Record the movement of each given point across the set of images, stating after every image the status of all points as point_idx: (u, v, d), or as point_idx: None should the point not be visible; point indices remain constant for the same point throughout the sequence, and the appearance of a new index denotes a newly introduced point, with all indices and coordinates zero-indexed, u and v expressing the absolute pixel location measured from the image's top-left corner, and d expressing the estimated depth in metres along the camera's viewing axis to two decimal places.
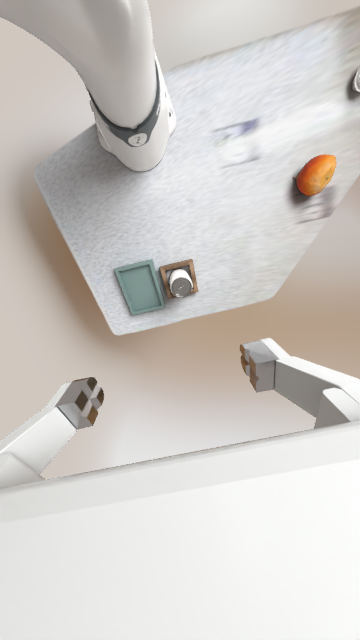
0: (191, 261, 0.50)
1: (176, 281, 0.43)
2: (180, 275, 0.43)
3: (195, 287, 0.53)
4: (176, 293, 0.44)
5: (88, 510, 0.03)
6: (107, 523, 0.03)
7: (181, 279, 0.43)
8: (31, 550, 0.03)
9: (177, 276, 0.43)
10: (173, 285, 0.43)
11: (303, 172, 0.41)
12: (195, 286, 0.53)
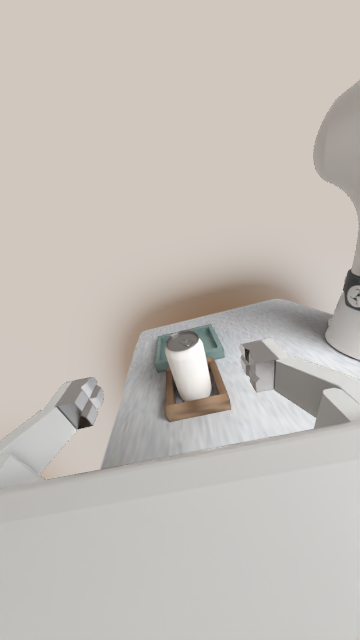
0: (226, 397, 0.26)
1: (192, 335, 0.27)
2: (201, 342, 0.26)
3: (175, 407, 0.26)
4: (173, 337, 0.28)
5: (88, 510, 0.03)
6: (107, 523, 0.03)
7: (195, 340, 0.26)
8: (31, 550, 0.03)
9: (200, 339, 0.27)
10: (187, 333, 0.28)
11: None
12: (177, 406, 0.26)
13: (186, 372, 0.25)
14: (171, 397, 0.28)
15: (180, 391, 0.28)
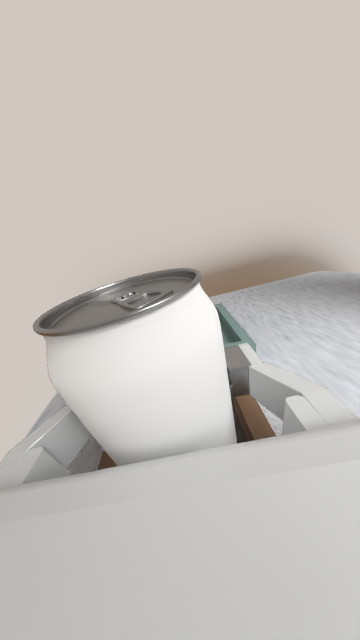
0: None
1: (174, 279, 0.07)
2: (211, 304, 0.06)
3: None
4: (108, 293, 0.08)
5: (88, 510, 0.03)
6: (107, 523, 0.03)
7: (182, 288, 0.06)
8: (31, 550, 0.03)
9: None
10: (156, 281, 0.08)
11: None
12: None
13: (136, 451, 0.05)
14: None
15: None
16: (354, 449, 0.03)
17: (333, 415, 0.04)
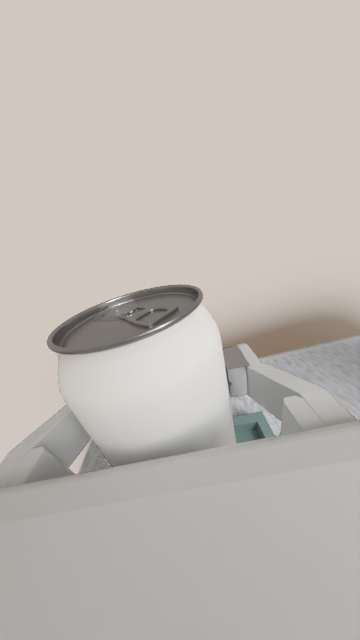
0: None
1: (176, 295, 0.07)
2: (212, 318, 0.06)
3: None
4: (111, 308, 0.08)
5: (88, 510, 0.03)
6: (107, 523, 0.03)
7: (185, 304, 0.06)
8: (31, 550, 0.03)
9: None
10: (157, 296, 0.08)
11: None
12: None
13: None
14: None
15: None
16: (354, 449, 0.03)
17: (331, 415, 0.04)
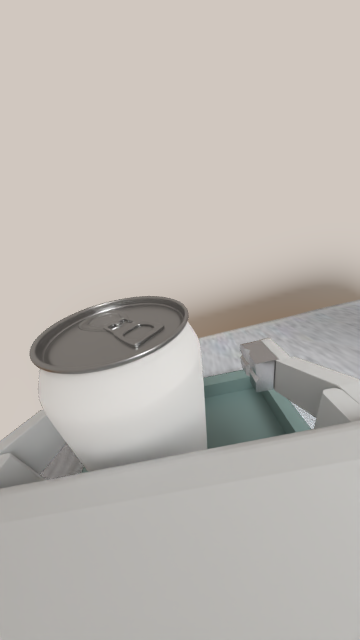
0: None
1: (163, 309, 0.08)
2: (195, 335, 0.07)
3: None
4: (97, 315, 0.08)
5: (88, 510, 0.03)
6: (107, 523, 0.03)
7: (171, 322, 0.06)
8: (31, 550, 0.03)
9: None
10: (145, 305, 0.08)
11: None
12: None
13: None
14: None
15: None
16: (354, 449, 0.03)
17: None
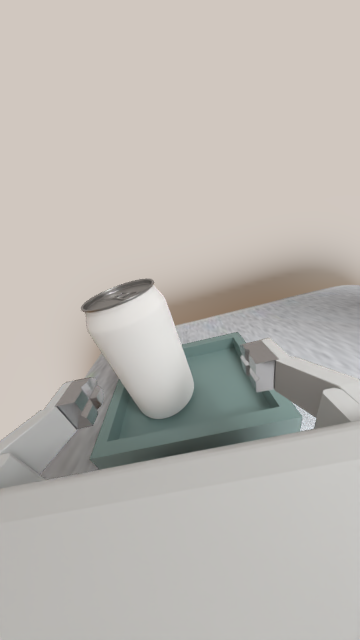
0: None
1: (143, 285, 0.13)
2: (161, 295, 0.13)
3: None
4: (108, 295, 0.14)
5: (88, 510, 0.03)
6: (107, 523, 0.03)
7: (146, 289, 0.12)
8: (31, 550, 0.03)
9: (159, 291, 0.13)
10: (134, 286, 0.14)
11: None
12: None
13: (132, 359, 0.11)
14: None
15: (134, 399, 0.15)
16: (354, 449, 0.03)
17: None
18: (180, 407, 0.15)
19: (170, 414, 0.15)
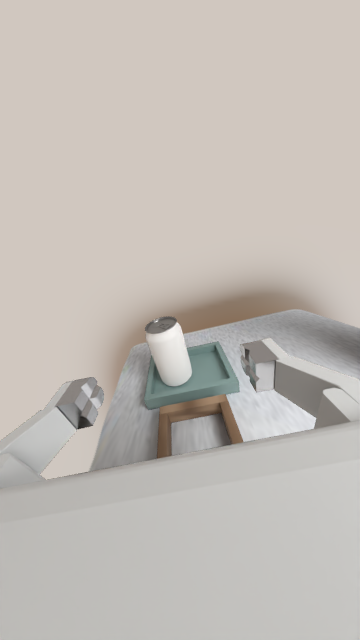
0: None
1: (171, 320, 0.29)
2: (179, 326, 0.28)
3: None
4: (153, 323, 0.29)
5: (88, 510, 0.03)
6: (107, 523, 0.03)
7: (173, 323, 0.27)
8: (31, 550, 0.03)
9: None
10: (165, 319, 0.30)
11: None
12: None
13: (166, 354, 0.26)
14: None
15: (162, 375, 0.29)
16: (354, 449, 0.03)
17: None
18: (184, 380, 0.30)
19: (179, 383, 0.30)
